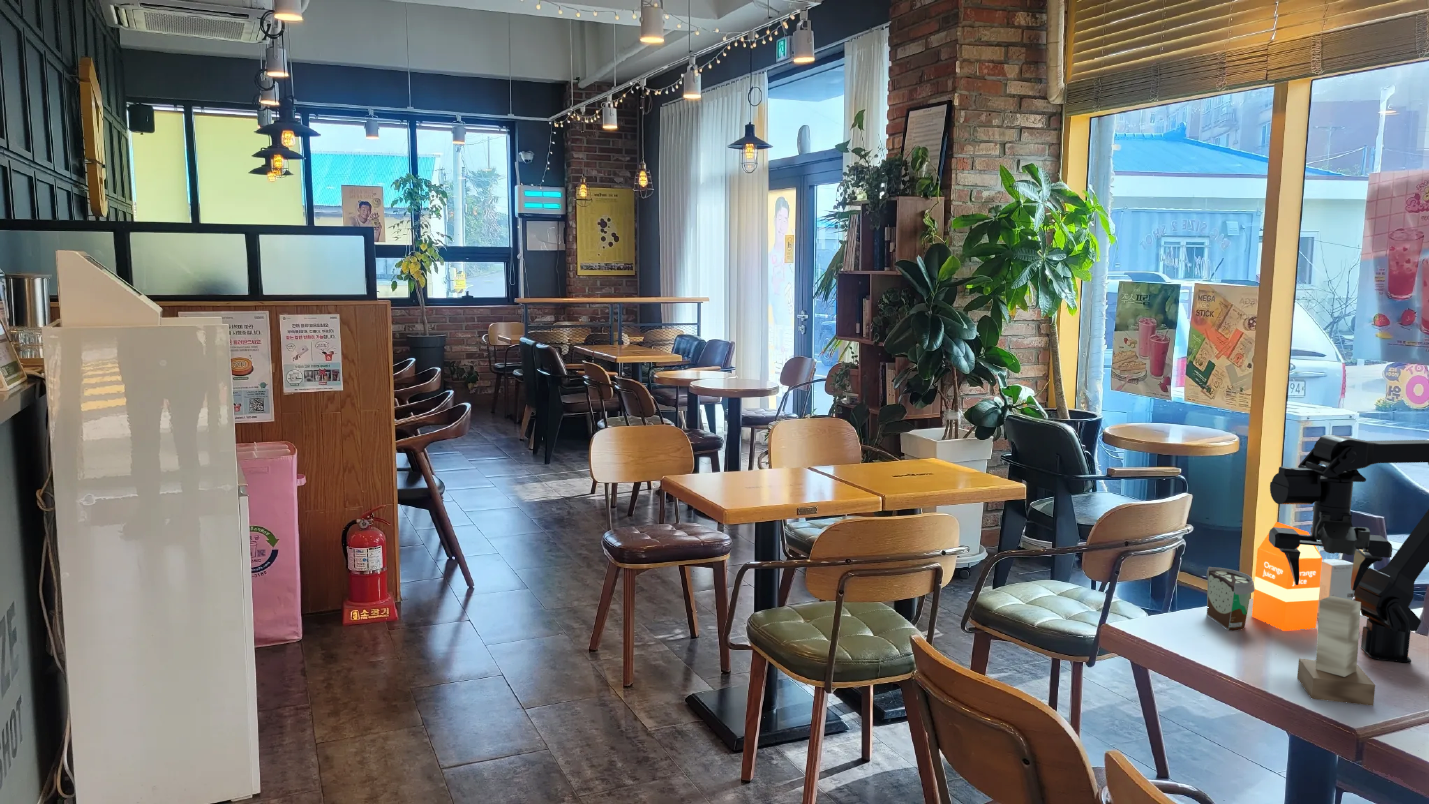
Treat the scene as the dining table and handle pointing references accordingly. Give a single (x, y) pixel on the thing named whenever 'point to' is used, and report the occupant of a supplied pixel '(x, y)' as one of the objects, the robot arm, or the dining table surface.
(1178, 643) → the dining table surface
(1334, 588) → the skincare box
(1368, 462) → the robot arm
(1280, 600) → the orange juice
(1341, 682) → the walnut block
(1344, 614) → the birch pillar
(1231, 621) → the food container
